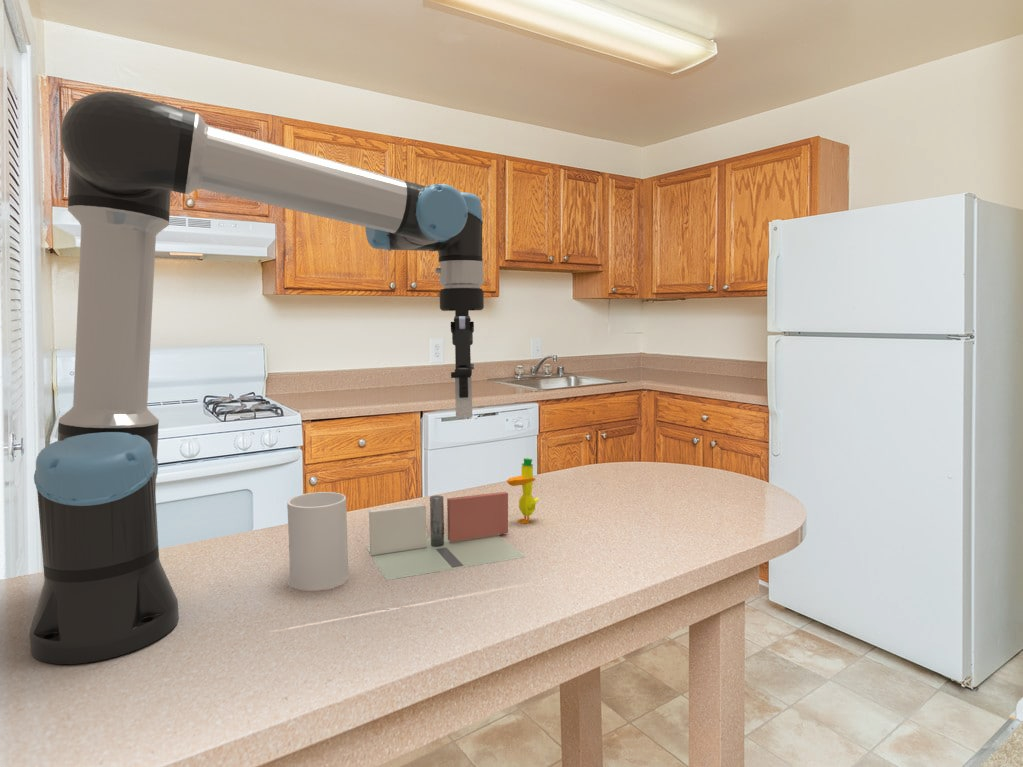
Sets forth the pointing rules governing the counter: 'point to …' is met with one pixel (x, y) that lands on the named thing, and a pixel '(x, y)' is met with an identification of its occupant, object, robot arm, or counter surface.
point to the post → (437, 521)
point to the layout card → (445, 556)
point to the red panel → (477, 516)
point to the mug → (318, 541)
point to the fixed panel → (397, 529)
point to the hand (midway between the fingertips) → (464, 411)
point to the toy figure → (525, 490)
